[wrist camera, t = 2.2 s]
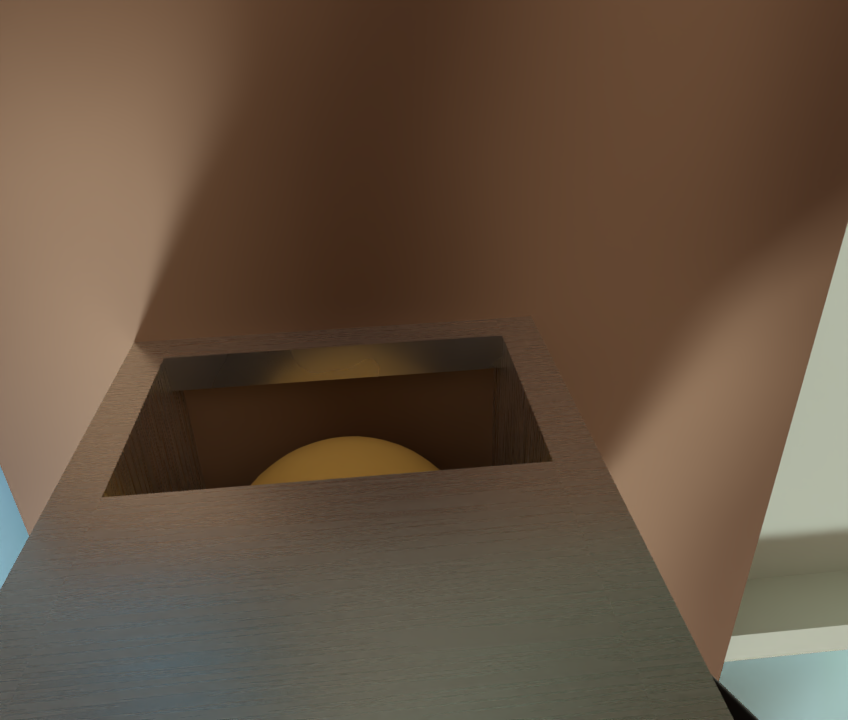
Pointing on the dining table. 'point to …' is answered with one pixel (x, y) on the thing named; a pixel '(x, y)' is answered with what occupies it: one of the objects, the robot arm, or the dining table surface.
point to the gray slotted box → (343, 561)
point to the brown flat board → (435, 230)
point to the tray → (806, 510)
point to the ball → (344, 461)
